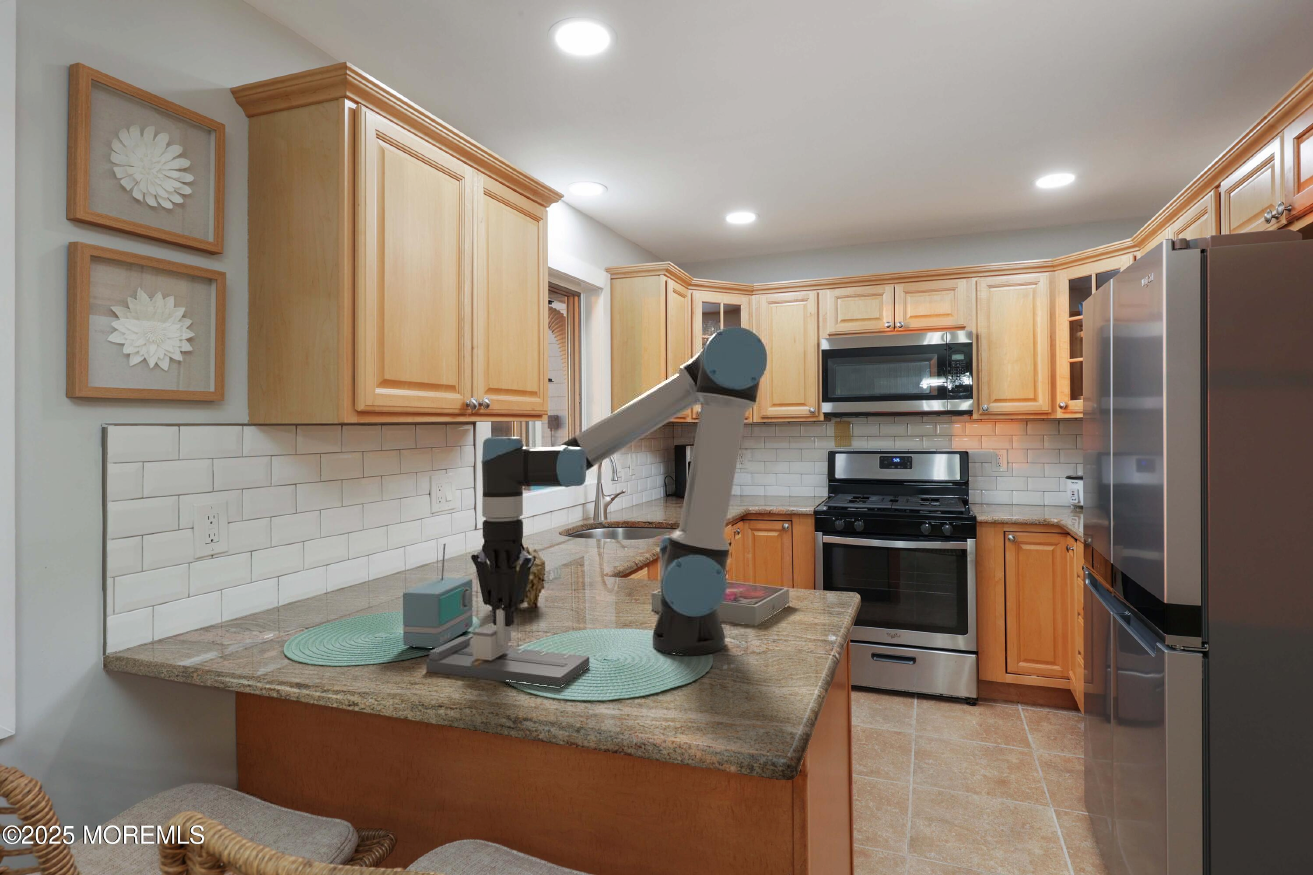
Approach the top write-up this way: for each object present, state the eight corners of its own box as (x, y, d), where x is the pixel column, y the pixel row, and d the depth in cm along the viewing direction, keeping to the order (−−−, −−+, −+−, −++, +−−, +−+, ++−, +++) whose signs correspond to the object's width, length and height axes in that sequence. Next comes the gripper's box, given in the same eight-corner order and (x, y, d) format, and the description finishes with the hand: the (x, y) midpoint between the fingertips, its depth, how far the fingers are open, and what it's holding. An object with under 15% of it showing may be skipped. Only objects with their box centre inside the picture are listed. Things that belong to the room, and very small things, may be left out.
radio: (442, 652, 141) (441, 554, 141) (402, 649, 142) (401, 553, 142) (477, 630, 156) (477, 542, 156) (441, 628, 158) (440, 541, 158)
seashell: (477, 540, 169) (530, 553, 164) (516, 534, 186) (565, 545, 180) (466, 612, 169) (519, 627, 164) (506, 599, 186) (554, 612, 181)
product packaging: (755, 628, 158) (755, 606, 158) (651, 612, 173) (651, 592, 173) (789, 607, 177) (789, 588, 177) (692, 595, 191) (692, 577, 191)
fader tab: (509, 650, 133) (509, 624, 133) (491, 660, 128) (491, 633, 128) (490, 648, 135) (490, 623, 135) (472, 658, 129) (472, 631, 129)
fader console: (589, 666, 131) (589, 648, 131) (560, 688, 120) (559, 668, 120) (464, 652, 140) (464, 635, 140) (426, 671, 129) (426, 652, 129)
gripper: (543, 517, 132) (544, 640, 132) (484, 514, 136) (485, 634, 136) (522, 521, 124) (523, 651, 125) (461, 519, 129) (462, 645, 129)
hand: (503, 642), depth 130 cm, fingers closed
